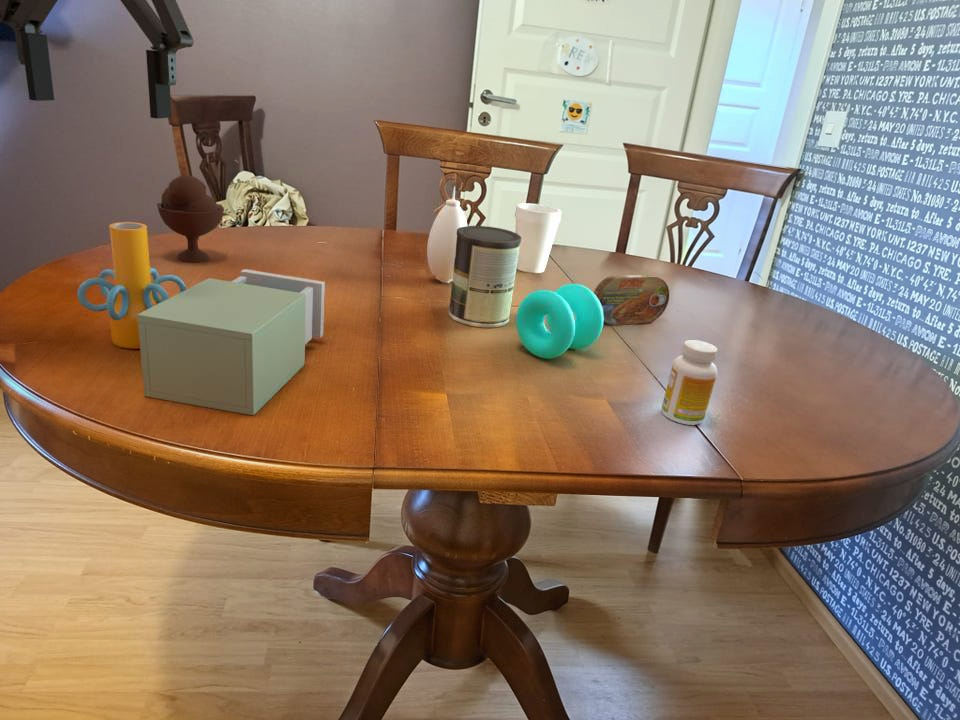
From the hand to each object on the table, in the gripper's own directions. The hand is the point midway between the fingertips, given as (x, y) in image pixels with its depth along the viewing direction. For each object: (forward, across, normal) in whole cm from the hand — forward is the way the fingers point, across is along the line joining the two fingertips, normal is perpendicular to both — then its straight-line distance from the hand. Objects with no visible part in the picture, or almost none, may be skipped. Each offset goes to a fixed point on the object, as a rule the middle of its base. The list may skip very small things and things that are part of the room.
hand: (101, 109), depth 71 cm
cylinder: (+29, 0, -4) cm, 29 cm away
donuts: (+28, -53, -23) cm, 65 cm away
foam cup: (+28, -46, -69) cm, 88 cm away
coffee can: (+28, -40, -34) cm, 60 cm away
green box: (+28, -15, +2) cm, 32 cm away
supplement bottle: (+28, -70, -8) cm, 76 cm away
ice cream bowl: (+29, +14, -41) cm, 52 cm away
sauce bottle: (+28, -31, -50) cm, 66 cm away
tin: (+28, -65, -43) cm, 83 cm away
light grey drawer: (+28, -15, -10) cm, 33 cm away
